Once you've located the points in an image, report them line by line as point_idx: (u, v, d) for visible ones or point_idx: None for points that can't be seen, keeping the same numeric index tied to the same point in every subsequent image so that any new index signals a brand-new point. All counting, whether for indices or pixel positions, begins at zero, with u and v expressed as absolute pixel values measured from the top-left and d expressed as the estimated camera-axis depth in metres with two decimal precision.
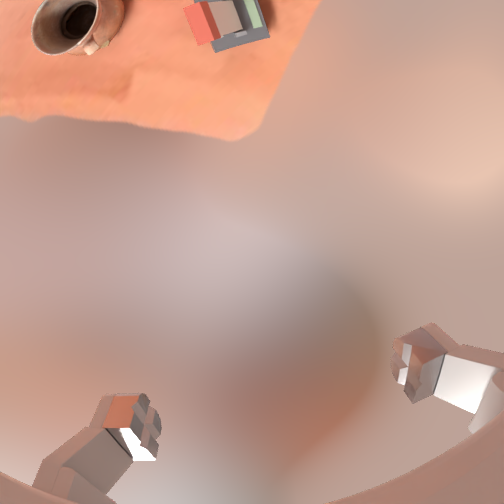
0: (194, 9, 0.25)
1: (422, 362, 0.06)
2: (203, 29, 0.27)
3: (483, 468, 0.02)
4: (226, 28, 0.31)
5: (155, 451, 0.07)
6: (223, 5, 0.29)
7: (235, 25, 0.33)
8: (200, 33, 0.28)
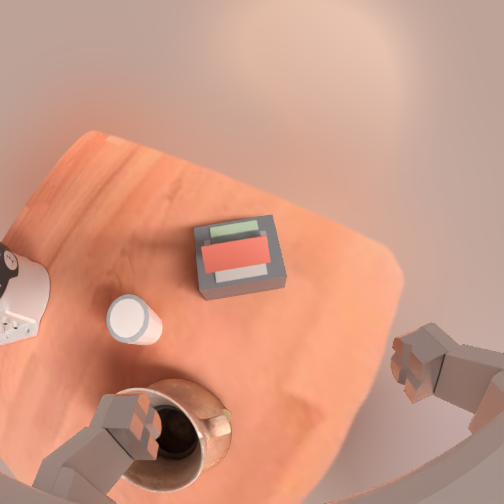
0: (211, 256, 0.27)
1: (422, 362, 0.06)
2: (246, 249, 0.27)
3: (483, 468, 0.02)
4: None
5: (155, 451, 0.07)
6: None
7: None
8: (252, 254, 0.27)
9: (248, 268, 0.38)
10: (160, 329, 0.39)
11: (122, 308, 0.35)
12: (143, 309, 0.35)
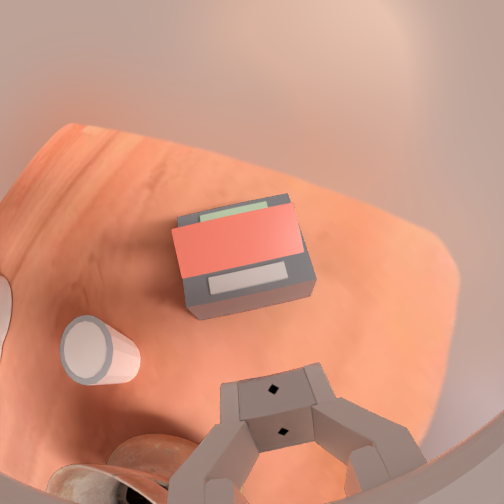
0: (191, 245, 0.14)
1: (279, 410, 0.06)
2: (257, 228, 0.14)
3: (483, 468, 0.02)
4: None
5: None
6: None
7: None
8: (268, 239, 0.14)
9: (258, 270, 0.25)
10: (137, 362, 0.26)
11: (78, 335, 0.22)
12: (105, 337, 0.22)
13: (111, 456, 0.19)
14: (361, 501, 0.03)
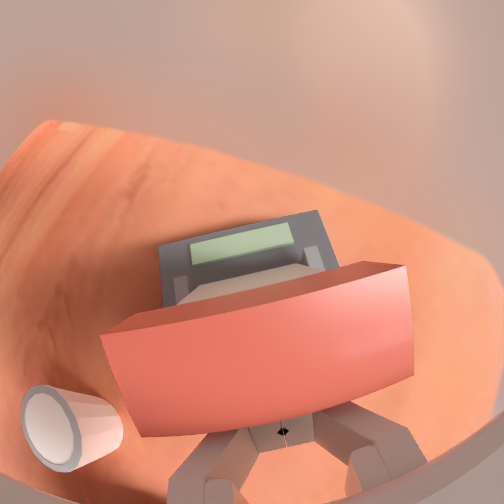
0: (150, 378, 0.05)
1: None
2: (320, 338, 0.05)
3: (483, 468, 0.02)
4: (301, 276, 0.11)
5: None
6: (204, 291, 0.13)
7: (286, 269, 0.15)
8: (345, 361, 0.05)
9: None
10: (118, 434, 0.17)
11: (38, 409, 0.13)
12: (69, 420, 0.13)
13: None
14: (361, 501, 0.03)
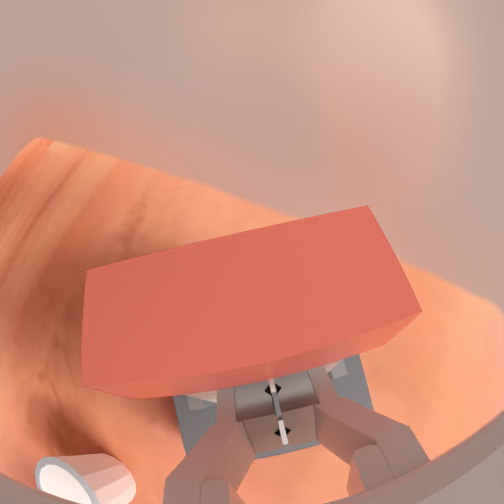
0: (115, 305, 0.05)
1: (282, 410, 0.06)
2: (289, 262, 0.05)
3: (483, 468, 0.02)
4: None
5: (281, 438, 0.07)
6: None
7: None
8: (322, 287, 0.05)
9: None
10: (132, 491, 0.15)
11: (54, 478, 0.10)
12: (87, 492, 0.10)
13: None
14: (361, 501, 0.03)
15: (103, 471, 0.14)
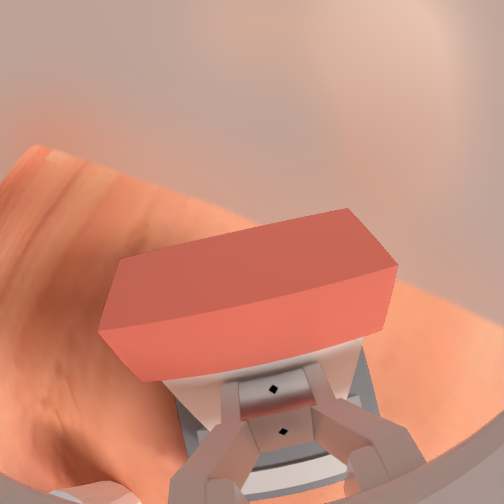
0: (141, 276, 0.06)
1: (278, 411, 0.06)
2: (282, 242, 0.07)
3: (483, 468, 0.02)
4: None
5: None
6: None
7: None
8: (309, 254, 0.06)
9: (309, 466, 0.12)
10: None
11: None
12: None
13: None
14: (361, 501, 0.03)
15: (113, 502, 0.12)
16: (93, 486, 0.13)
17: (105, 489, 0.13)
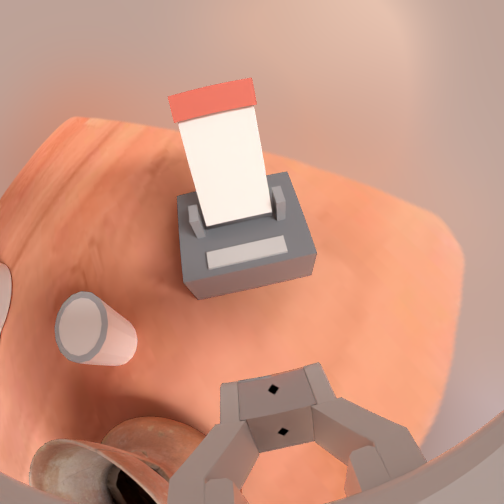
0: None
1: (279, 410, 0.06)
2: None
3: (483, 468, 0.02)
4: None
5: None
6: None
7: None
8: None
9: (257, 244, 0.25)
10: (133, 343, 0.26)
11: (74, 312, 0.22)
12: (100, 312, 0.21)
13: (103, 440, 0.18)
14: (361, 501, 0.03)
15: (115, 311, 0.25)
16: None
17: None
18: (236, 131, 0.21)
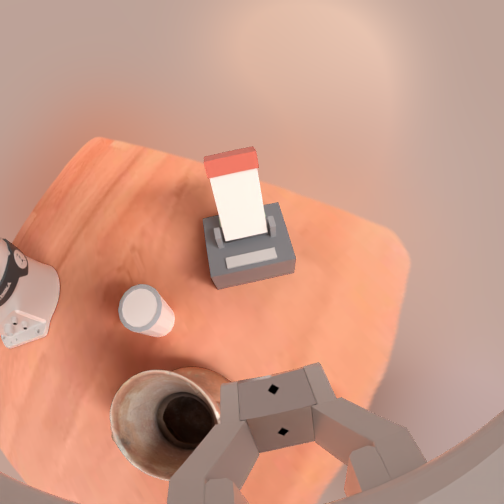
0: (210, 157, 0.33)
1: (279, 410, 0.06)
2: (237, 151, 0.33)
3: (483, 468, 0.02)
4: None
5: None
6: None
7: None
8: (241, 151, 0.33)
9: (258, 253, 0.39)
10: (172, 320, 0.40)
11: (134, 298, 0.36)
12: (155, 297, 0.36)
13: None
14: (361, 501, 0.03)
15: None
16: None
17: None
18: (245, 183, 0.35)
